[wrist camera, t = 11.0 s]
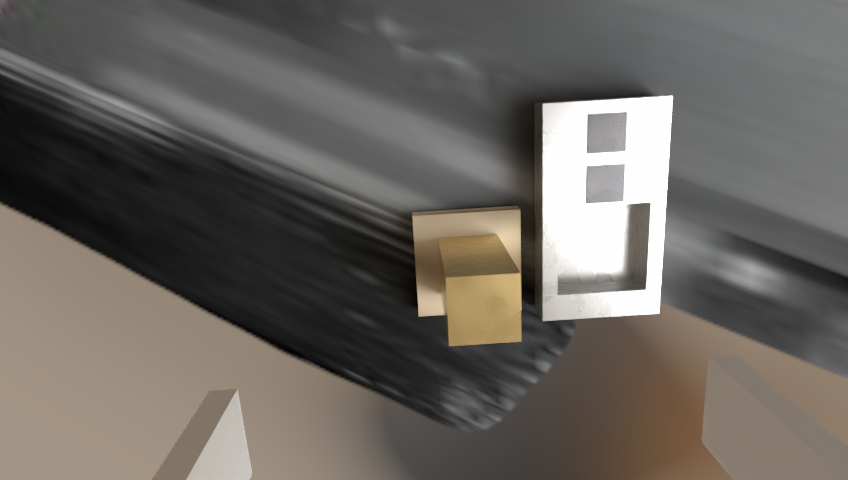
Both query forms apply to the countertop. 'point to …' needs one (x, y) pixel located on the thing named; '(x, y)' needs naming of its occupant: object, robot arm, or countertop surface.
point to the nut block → (479, 290)
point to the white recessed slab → (600, 205)
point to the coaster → (456, 225)
